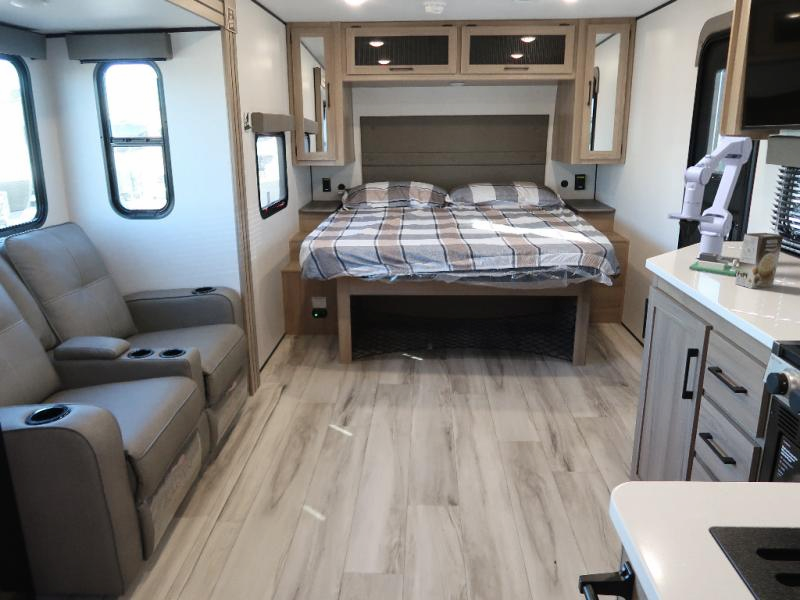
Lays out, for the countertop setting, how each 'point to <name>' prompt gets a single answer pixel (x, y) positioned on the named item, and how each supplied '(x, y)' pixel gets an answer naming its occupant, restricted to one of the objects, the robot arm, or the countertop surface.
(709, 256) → the plug
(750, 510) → the countertop surface
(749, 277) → the coffee box
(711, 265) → the board
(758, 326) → the countertop surface
